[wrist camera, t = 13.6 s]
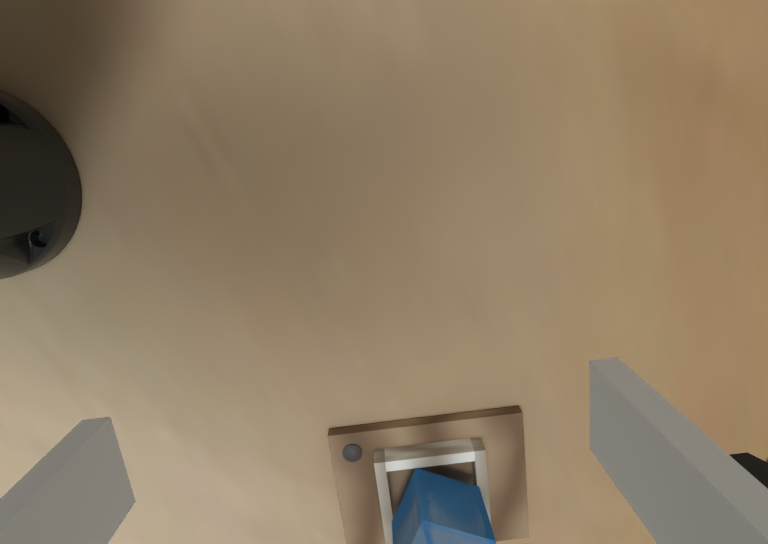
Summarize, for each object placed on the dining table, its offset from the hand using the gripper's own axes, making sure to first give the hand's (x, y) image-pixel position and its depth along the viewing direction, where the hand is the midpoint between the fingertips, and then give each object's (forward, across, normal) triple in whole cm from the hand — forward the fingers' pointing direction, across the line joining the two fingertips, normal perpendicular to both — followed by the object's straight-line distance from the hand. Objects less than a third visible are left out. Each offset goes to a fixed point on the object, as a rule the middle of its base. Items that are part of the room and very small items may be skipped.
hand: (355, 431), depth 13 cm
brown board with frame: (+29, +3, -25) cm, 38 cm away
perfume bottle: (+26, +3, -25) cm, 36 cm away
